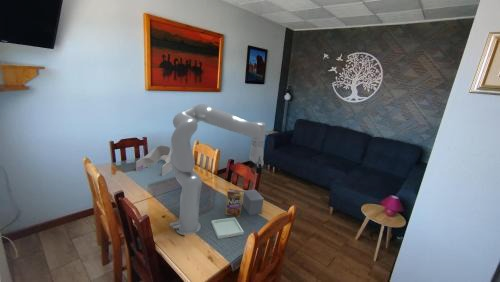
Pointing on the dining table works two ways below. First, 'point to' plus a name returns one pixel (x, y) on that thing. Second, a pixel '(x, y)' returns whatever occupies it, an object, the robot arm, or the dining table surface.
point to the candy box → (234, 202)
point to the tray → (227, 228)
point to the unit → (252, 202)
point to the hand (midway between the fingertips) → (255, 170)
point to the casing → (156, 159)
